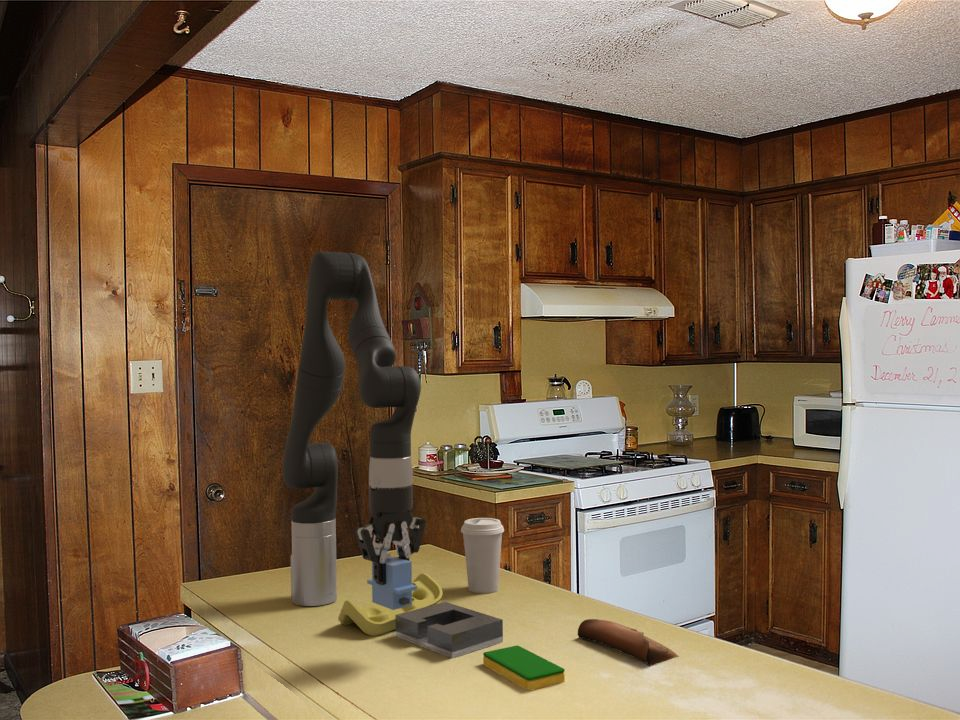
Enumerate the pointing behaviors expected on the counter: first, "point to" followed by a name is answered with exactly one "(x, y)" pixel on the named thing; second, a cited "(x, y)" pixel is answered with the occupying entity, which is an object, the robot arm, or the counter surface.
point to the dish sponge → (524, 667)
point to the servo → (394, 584)
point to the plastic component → (383, 619)
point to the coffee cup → (482, 553)
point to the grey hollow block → (449, 629)
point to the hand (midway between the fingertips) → (391, 581)
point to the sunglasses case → (625, 640)
